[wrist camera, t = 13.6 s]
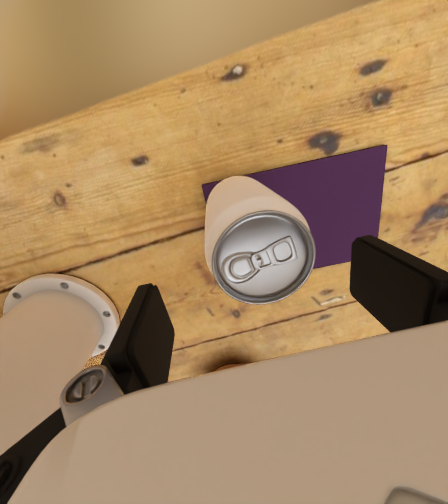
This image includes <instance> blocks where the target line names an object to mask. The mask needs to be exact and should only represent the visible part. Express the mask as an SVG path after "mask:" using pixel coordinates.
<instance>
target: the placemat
mask: <svg viewBox="0 0 448 504" xmlns="http://www.w3.org/2000/svg"><path fill="white" fill-rule="evenodd" d="M386 153H387V145H381V146H376V147H372V148H367V149H363V150H358V151H353V152H349V153H344V154H340V155H335V156H330V157H326V158H321V159H317V160H312V161H307V162H303V163H298V164H294V165H289V166H284V167H280V168H275V169H271V170H266V171H261V172H257V173H252V174H248V175H243V176H246V177H250V178H252V179H254V180H256V181H258V182H260V183H261V184H263V185H264V186H266V187H267V188H269V189H270V190H272V191H273V192H275V193H276V194H278V195H279V196H281V197H282V198H284V199H285V200H287V201H288V202H289V203H291V204H292V205H293V206H294V207H296V208H297V209H298V210H299V212H300V213H301V214H302V215H303V217H304V218H305V220H306V222H307V224H308V226H309V229H310V233H311V234H312V237H313V239H314V243H315V248H316V257H315V263H314V266H313V269H315V268H320V267H325V266H330V265H335V264H340V263H345V262H349V261H351V246H352V242H353V241H355V239H356V238H357V237H362V236H366V235H372V236H374V237H376V238H378V232H379V222H380V212H381V202H382V193H383V183H384V173H385V163H386ZM221 181H222V180H220V181H216V182H211V183H206V184H202V188H203V193H204V197H205V201H206V204H207V200H208V197H209V195H210V193H211V191H212V190H213V188H214V187H215V186H216V185H217V184H218V183H220V182H221Z"/></svg>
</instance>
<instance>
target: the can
mask: <svg viewBox="0 0 448 504" xmlns="http://www.w3.org/2000/svg"><path fill="white" fill-rule="evenodd" d="M204 250H205V258H206V262H207V265H208V268H209V270H210V272H211V273H212V275H213V276H214V277H215V280H216V282H217V283H218V285H219V286H220V288H221V289H222V290H223V291H224V292H225V293H226V294H227V295H229V296H230V297H232V298H234V299H236V300H238V301H240V302H243V303H248V304H256V305H261V304H269V303H274V302H277V301H280V300H282V299H284V298H286V297H288V296H290V295H291V294H293V293H294V292H296V291H297V290H298V289H299V288H300V287H301V286H302V285H303V284H304V283H305V281H306V280H307V279H308V277H309V275H310V274H311V272H312V269H313V266H314V263H315V257H316V248H315V243H314V239H313V237H312V234H311V233H310V229H309V226H308V224H307V222H306V220H305V218H304V217H303V215H302V214H301V213H300V212H299V210H298V209H297V208H296V207H294V206H293V205H292V204H291V203H289V202H288V201H287V200H285V199H284V198H282V197H281V196H279V195H278V194H276V193H275V192H273V191H272V190H270V189H269V188H267V187H266V186H264V185H263V184H261V183H260V182H258V181H256V180H254V179H252V178H250V177H246V176H232V177H229V178H226V179H224V180H222V181H221V182H220V183H218V184H217V185H216V186H215V187H214V188H213V190H212V191H211V193H210V195H209V197H208V200H207V204H206V215H205V238H204Z"/></svg>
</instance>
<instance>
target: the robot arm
mask: <svg viewBox="0 0 448 504" xmlns="http://www.w3.org/2000/svg"><path fill="white" fill-rule="evenodd" d="M350 292H351V295H352V296H353V297H354V298H355V299H356V300H357V301H358V302H359V303H360V304H361V305H362V306H363V307H364V308H365V309H367V310H368V311H369V312H370V313H371V314H372V315H373V316H374V317H375V318H376V319H377V320H378V321H379V322H380V323H381V324H382V325H383V326H384V327H385V328H386V329H388V330H389V331H390V332H391V333H386V334H381V335H377V336H372V337H367V338H363V339H358V340H354V341H349V342H344V343H340V344H335V345H331V346H326V347H322V348H317V349H313V350H308V351H304V352H299V353H295V354H290V355H286V356H281V357H277V358H272V359H268V360H263V361H259V362H254V363H250V364H246V365H241V366H237V367H232V368H228V369H224V370H219V371H215V372H210V373H206V374H202V375H197V376H193V377H189V378H184V379H180V380H176V381H172V382H168V375H169V369H170V362H171V356H172V349H173V342H174V335H175V334H174V328H173V325H172V323H171V320H170V318H169V315H168V312H167V310H166V307H165V305H164V302H163V299H162V297H161V294H160V292H159V289H158V287H157V286H156V285H154V286H153V284H152V283H149V284H145V285H140V286H138V288H137V290H136V292H135V294H134V296H133V298H132V300H131V303H130V305H129V307H128V309H127V311H126V313H125V315H124V317H123V319H122V321H121V323H120V320H119V315H118V312H117V310H116V307H115V306H114V304H113V303H112V301H111V300H110V299H109V298H108V297H107V296H106V295H105V294H104V293H103V292H102V291H101V290H100V289H98V288H97V287H95V286H94V285H92V284H90V283H88V282H86V281H84V280H82V279H79V278H76V277H73V276H68V275H63V274H41V275H36V276H33V277H30V278H28V279H26V280H24V281H22V282H21V283H19V284H18V285H17V286H15V287H14V288H13V289H12V290H11V291H10V292H9V294H8V295H7V296H6V299H5V301H4V308H3V312H4V316H2V317H1V318H0V504H448V272H446V271H444V270H442V269H440V268H438V267H436V266H434V265H432V264H430V263H428V262H426V261H424V260H422V259H420V258H417V257H415V256H413V255H411V254H409V253H407V252H405V251H403V250H401V249H399V248H397V247H395V246H393V245H391V244H389V243H387V242H384V241H382V240H380V239H378V238H376V237H374V236H372V235H366V236H362V237H357V238H356V239H355V241H353V242H352V246H351V271H350ZM107 349H108V350H107ZM105 350H107V352H106V354H105V356H104V358H103V360H102V362H101V364H100V365H94V366H91V367H88V368H86V369H84V367H85V365H86V363H87V362H88V360H89V358H90V357H94V356H96V355H98V354H101V353H103V352H104V351H105ZM83 369H84V370H83ZM167 382H168V383H167Z"/></svg>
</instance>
